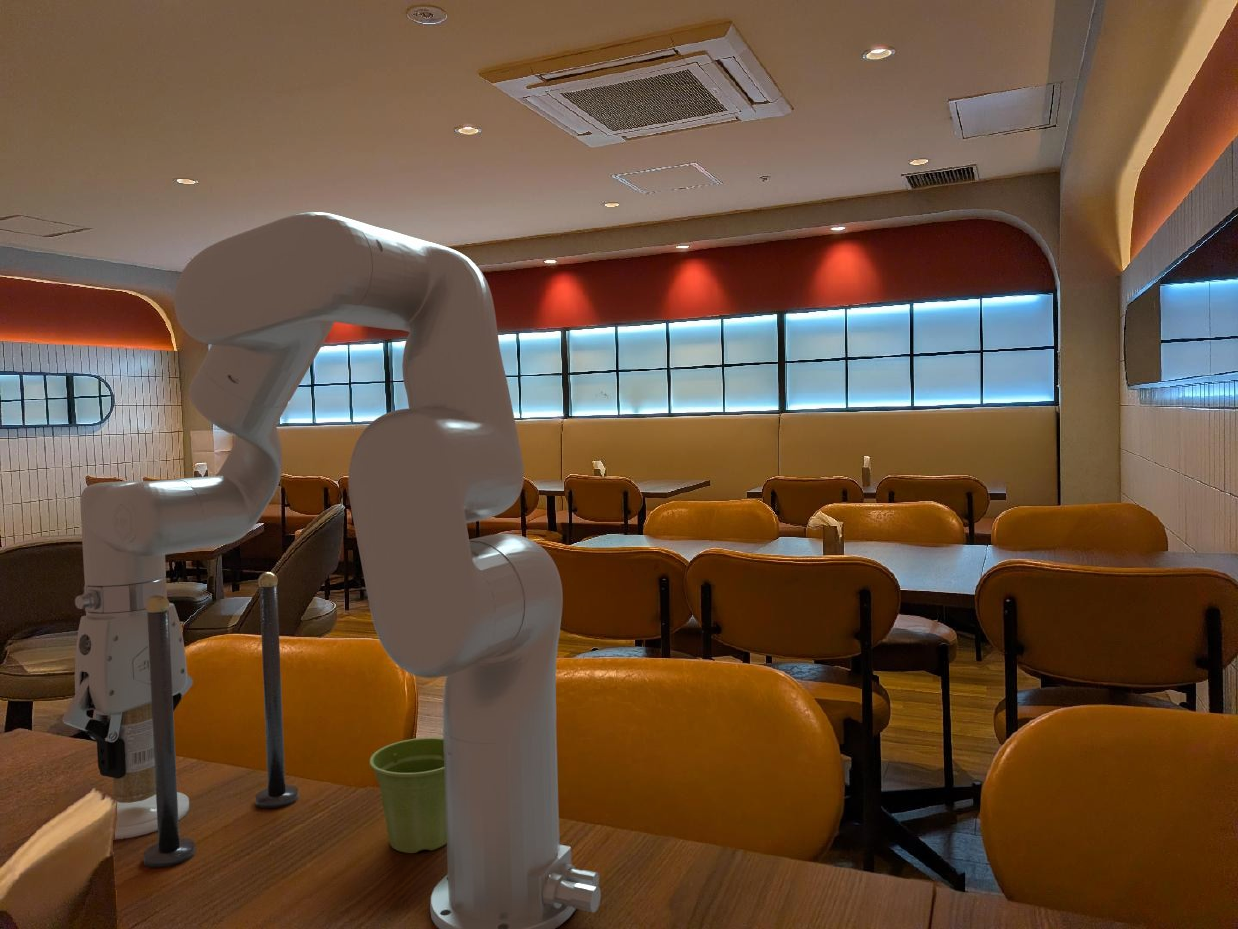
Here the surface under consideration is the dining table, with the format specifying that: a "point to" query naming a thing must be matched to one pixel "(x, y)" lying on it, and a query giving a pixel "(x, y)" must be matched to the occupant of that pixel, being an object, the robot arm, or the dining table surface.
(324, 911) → the dining table surface
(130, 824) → the white round disc
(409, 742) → the plant pot
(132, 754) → the sprinkles bottle
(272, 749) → the pair of dark posts
